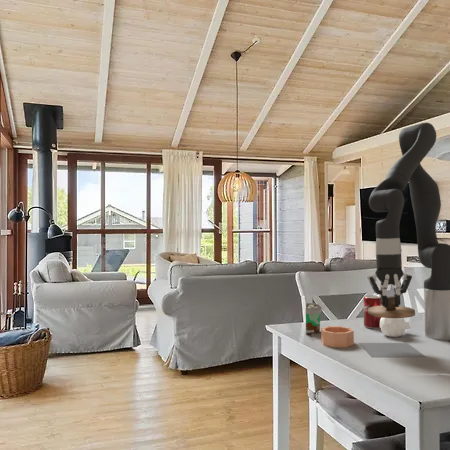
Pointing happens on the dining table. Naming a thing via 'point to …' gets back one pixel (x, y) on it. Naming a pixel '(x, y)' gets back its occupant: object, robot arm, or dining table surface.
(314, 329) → the food container
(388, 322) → the white garlic bulb
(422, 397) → the dining table surface
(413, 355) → the rubber mat
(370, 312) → the walnut lid
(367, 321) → the soda can
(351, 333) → the terracotta bowl
